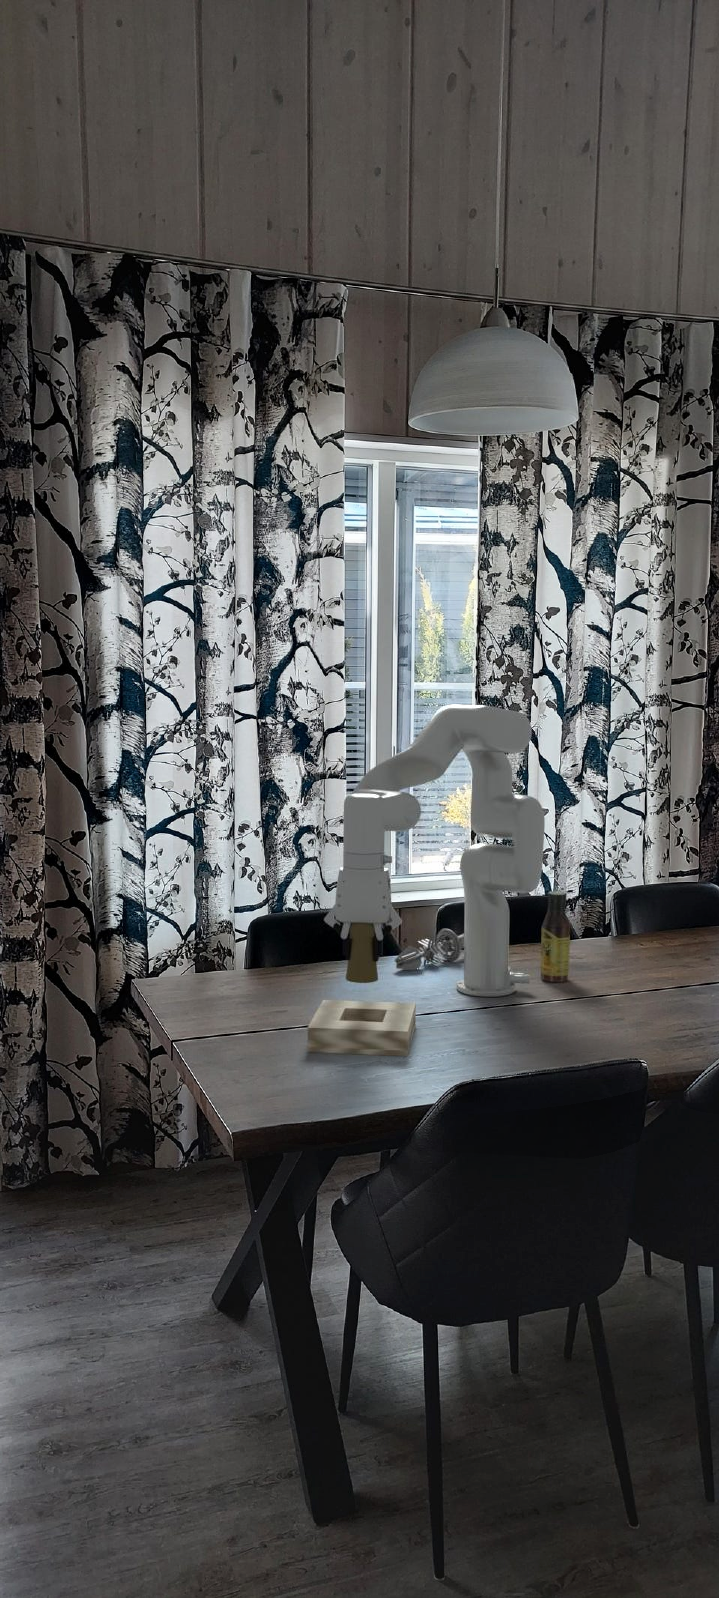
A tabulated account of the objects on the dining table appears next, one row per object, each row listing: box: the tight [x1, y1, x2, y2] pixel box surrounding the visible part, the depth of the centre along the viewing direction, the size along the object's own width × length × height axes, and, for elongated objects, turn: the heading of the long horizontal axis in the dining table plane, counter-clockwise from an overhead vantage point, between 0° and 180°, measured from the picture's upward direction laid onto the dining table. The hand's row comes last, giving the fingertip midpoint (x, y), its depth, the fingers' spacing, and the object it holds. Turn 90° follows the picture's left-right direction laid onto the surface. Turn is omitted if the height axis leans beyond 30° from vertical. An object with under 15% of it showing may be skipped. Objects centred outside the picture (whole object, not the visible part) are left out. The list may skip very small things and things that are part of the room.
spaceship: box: [392, 928, 464, 971], centre depth 275 cm, size 8×35×8 cm
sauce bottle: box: [539, 890, 571, 983], centre depth 257 cm, size 6×6×20 cm
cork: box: [345, 923, 379, 984], centre depth 214 cm, size 6×6×11 cm
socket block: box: [307, 999, 417, 1057], centre depth 216 cm, size 18×18×4 cm
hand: (362, 958), depth 214 cm, fingers closed on cork, 4 cm apart
